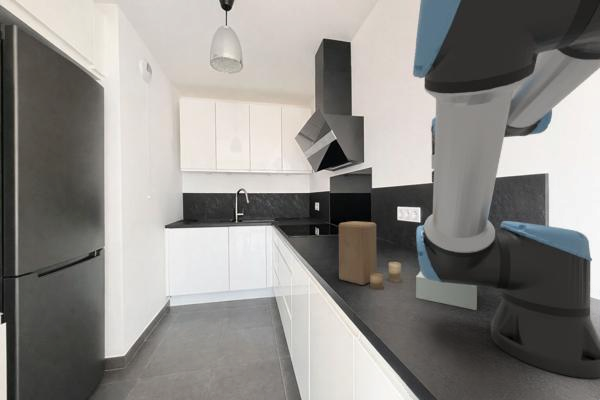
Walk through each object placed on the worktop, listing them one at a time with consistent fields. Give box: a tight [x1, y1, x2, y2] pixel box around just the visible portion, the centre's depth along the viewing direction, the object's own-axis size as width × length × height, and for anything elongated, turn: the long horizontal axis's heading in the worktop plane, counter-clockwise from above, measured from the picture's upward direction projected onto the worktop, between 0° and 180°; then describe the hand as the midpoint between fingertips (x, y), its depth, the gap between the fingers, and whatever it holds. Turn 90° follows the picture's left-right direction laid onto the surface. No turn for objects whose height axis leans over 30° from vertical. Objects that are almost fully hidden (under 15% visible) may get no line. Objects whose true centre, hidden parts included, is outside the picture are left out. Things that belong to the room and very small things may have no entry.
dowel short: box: [369, 273, 384, 291], centre depth 79 cm, size 4×4×4 cm
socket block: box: [415, 270, 478, 311], centre depth 72 cm, size 14×14×6 cm
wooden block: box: [338, 220, 378, 286], centre depth 87 cm, size 10×10×20 cm
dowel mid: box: [388, 261, 402, 284], centre depth 85 cm, size 4×4×6 cm
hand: (446, 249), depth 72 cm, fingers closed on dowel long, 4 cm apart
